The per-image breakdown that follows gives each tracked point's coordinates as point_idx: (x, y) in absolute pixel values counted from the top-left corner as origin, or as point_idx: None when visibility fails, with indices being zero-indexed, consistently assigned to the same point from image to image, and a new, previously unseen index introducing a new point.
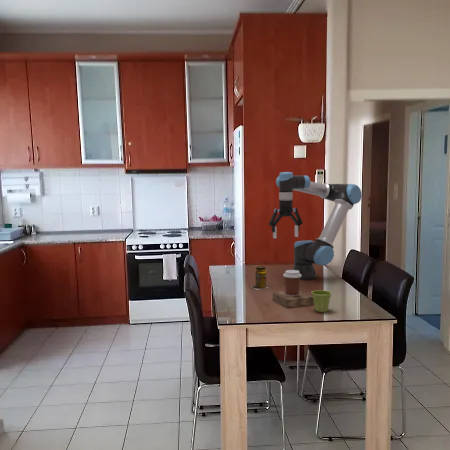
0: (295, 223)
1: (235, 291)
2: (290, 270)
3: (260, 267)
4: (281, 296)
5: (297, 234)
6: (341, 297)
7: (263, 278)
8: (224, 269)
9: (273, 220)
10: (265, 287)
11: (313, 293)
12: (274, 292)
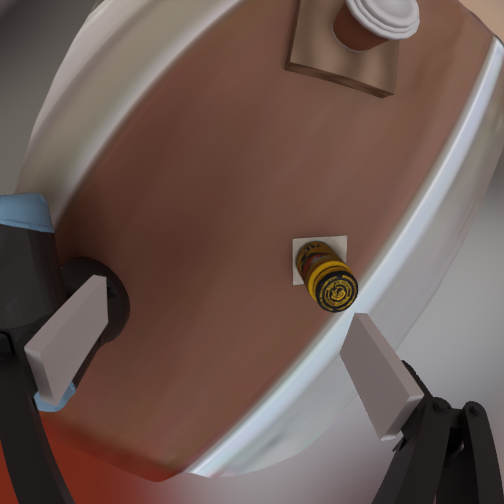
0: (38, 414)
1: (408, 257)
2: (389, 14)
3: (344, 289)
4: (394, 43)
5: (88, 288)
6: (157, 6)
7: (328, 253)
8: (261, 461)
9: (482, 456)
10: (306, 244)
11: None
12: (389, 91)
